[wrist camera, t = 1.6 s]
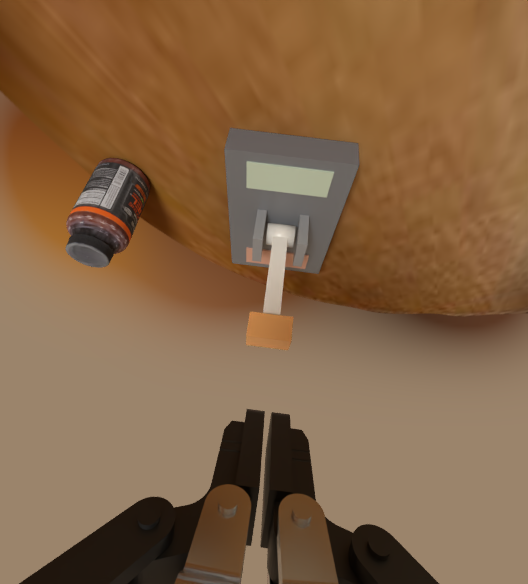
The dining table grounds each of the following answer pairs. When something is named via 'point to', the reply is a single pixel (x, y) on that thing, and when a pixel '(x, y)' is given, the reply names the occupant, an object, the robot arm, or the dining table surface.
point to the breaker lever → (273, 295)
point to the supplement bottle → (106, 212)
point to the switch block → (286, 194)
